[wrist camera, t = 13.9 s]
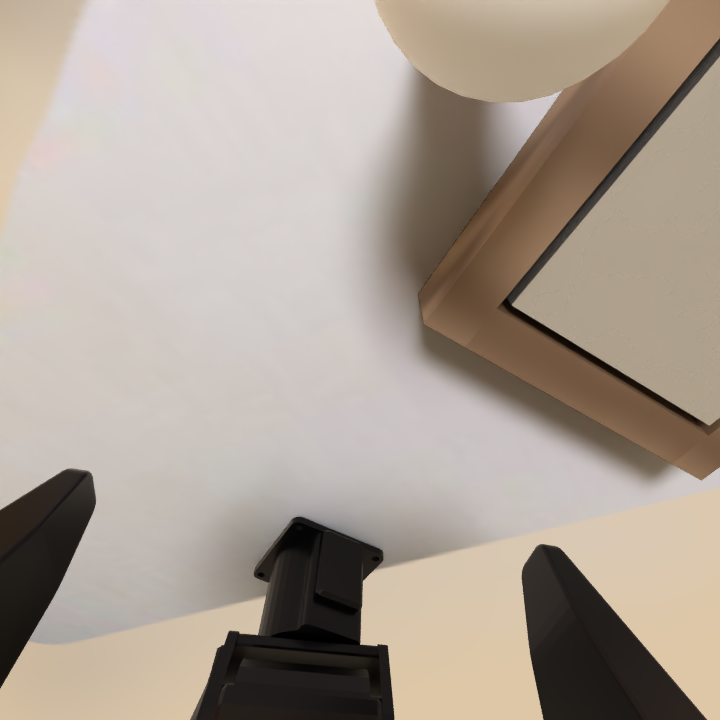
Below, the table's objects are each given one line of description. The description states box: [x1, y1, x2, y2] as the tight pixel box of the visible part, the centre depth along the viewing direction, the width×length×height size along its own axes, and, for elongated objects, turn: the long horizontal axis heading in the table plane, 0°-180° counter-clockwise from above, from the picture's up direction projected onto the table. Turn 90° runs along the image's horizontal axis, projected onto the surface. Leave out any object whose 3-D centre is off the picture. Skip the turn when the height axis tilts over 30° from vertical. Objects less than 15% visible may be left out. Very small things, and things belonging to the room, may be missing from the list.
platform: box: [507, 38, 720, 426], centre depth 18 cm, size 11×11×2 cm
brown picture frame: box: [418, 0, 720, 480], centre depth 18 cm, size 16×16×3 cm
